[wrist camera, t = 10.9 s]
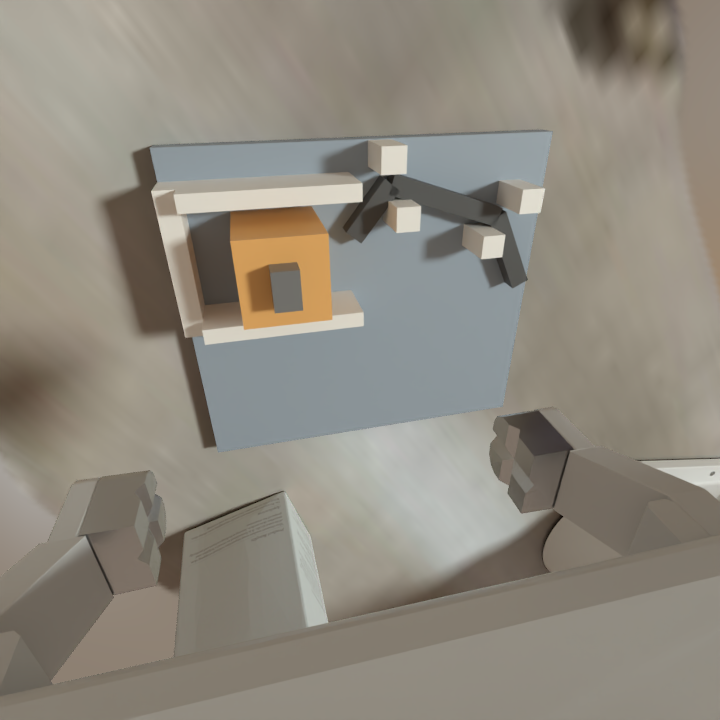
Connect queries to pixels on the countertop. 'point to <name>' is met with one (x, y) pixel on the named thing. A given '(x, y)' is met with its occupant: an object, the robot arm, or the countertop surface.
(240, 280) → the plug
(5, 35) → the countertop surface
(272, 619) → the skincare box
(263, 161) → the board
